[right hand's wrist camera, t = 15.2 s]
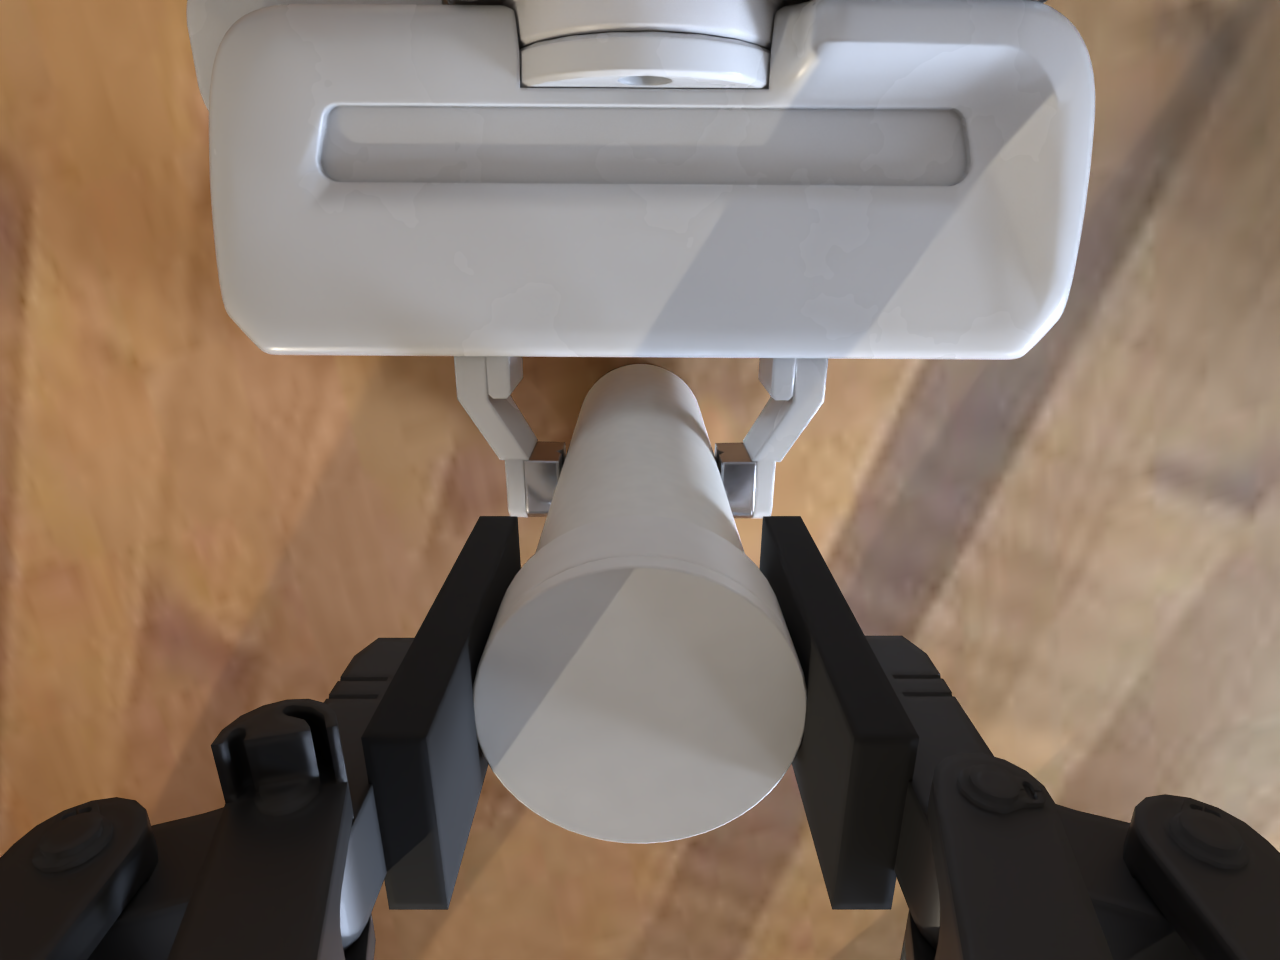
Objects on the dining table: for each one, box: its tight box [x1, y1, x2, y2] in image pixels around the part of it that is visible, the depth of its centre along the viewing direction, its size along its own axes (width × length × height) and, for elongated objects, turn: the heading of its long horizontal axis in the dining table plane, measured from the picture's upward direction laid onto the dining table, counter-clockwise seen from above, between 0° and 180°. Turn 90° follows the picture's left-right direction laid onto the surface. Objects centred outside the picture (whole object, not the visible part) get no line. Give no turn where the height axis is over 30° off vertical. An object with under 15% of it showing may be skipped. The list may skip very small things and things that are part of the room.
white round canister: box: [473, 515, 807, 843], centre depth 11 cm, size 5×5×2 cm
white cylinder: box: [535, 364, 745, 554], centre depth 18 cm, size 4×4×16 cm
